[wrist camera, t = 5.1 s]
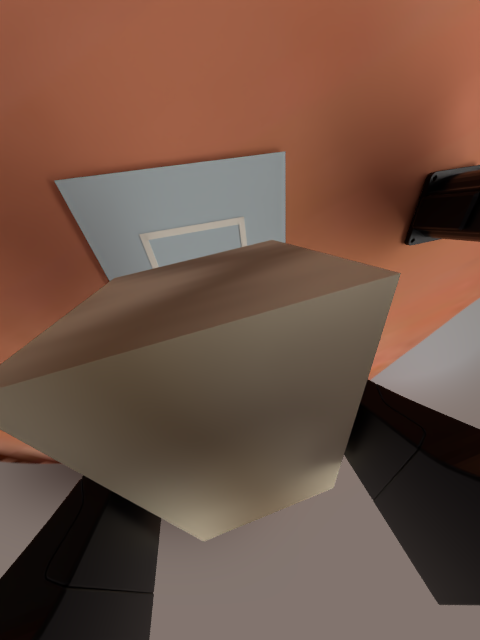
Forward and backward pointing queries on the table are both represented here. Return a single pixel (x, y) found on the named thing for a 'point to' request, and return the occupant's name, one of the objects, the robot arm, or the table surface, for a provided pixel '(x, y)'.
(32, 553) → the robot arm
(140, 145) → the table surface
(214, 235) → the board
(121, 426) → the birch brick
